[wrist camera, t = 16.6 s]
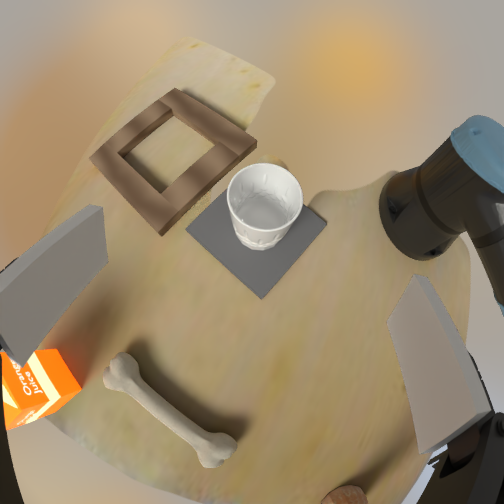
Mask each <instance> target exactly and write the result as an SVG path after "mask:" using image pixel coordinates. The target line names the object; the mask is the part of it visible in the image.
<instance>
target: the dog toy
mask: <svg viewBox="0 0 504 504" xmlns="http://www.w3.org/2000/svg"><path fill="white" fill-rule="evenodd" d="M103 380H104V385H105V387H107V388H109V389H112V390H115V391H123V392H125V393H127V394H128V395H130V396H131V397H132V398H134V399H135V400H136V401H137V402H139V403H140V404H141V405H142V406H143V407H144V408H145V409H146V410H148V411H149V412H150V413H151V414H152V415H153V416H155V417H156V418H157V419H158V420H160V421H161V422H162V423H163V424H164V425H166V426H167V427H168V428H170V429H171V430H172V431H173V432H175V433H176V434H177V435H179V436H180V437H181V438H183V439H184V440H185V441H186V442H188V443H189V444H190V445H191V446H192V447H193V448H194V449H195V450H196V451H197V454H198V458H199V460H200V462H201V464H202V466H203V467H205V468H215V467H218V466H220V465H222V464H223V463H224V460H225V459H227V458H230V457H231V455H232V453H234V452H235V451H236V449H237V443H236V441H235V440H234V439H233V438H232V437H231V436H229V435H227V434H225V433H211V432H207V431H205V430H204V429H202V428H201V427H199V426H198V425H197V424H195V423H194V422H192V421H191V420H190V419H188V418H187V417H186V416H185V415H183V414H182V413H181V412H179V411H178V410H177V409H176V408H174V407H173V406H172V405H171V404H170V403H168V402H167V401H166V400H165V399H164V398H162V397H161V396H160V395H159V394H158V393H157V392H155V391H154V390H153V389H152V388H151V387H150V386H149V385H148V384H146V383H145V382H144V381H143V380H142V378H141V376H140V373H139V365H138V363H137V361H136V360H135V359H134V358H133V357H132V356H130V355H129V354H127V353H124V352H119V353H118V354H117V355H116V356H115V358H114V359H112V360H111V361H110V366H108V367H106V369H105V370H104V372H103Z"/></svg>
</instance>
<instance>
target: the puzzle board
mask: <svg viewBox="0 0 504 504" xmlns="http://www.w3.org/2000/svg"><path fill="white" fill-rule="evenodd" d="M173 115H174V116H175V117H177V118H178V119H180V120H181V121H182V122H184V123H185V124H187V125H188V126H190V127H191V128H192V129H194V130H195V131H197V132H198V133H199V134H201V135H202V136H204V137H205V138H206V139H208V140H209V141H211V142H212V143H213V144H215V146H214V147H213V148H211V149H210V150H209V151H208V152H207V153H206V154H204V155H203V156H202V157H201V158H200V159H199V160H197V161H196V162H195V163H194V164H193V165H192V166H190V167H189V168H188V169H187V170H186V171H185V172H184V173H183V174H182V175H180V176H179V177H178V178H177V179H176V180H175V181H174V182H173V183H172V184H171V185H170V186H169V187H167V188H166V189H165V190H164V191H163V192H162V193H161V194H160V193H159V192H158V191H156V190H155V189H154V188H153V187H152V186H151V185H150V184H149V183H148V182H147V181H146V180H145V179H144V178H143V177H142V176H141V175H140V174H139V173H137V172H136V171H135V170H134V169H133V168H132V167H131V166H130V165H129V164H128V163H127V162H126V161H125V160H124V159H123V157H124V156H125V155H126V154H127V153H129V152H130V151H131V150H132V149H133V148H134V147H135V146H136V145H138V144H139V143H140V142H141V141H142V140H143V139H145V138H146V137H147V136H148V135H149V134H151V133H152V132H153V131H154V130H156V129H157V128H158V127H159V126H161V125H162V124H163V123H164V122H166V121H167V120H168V119H169V118H171V117H172V116H173ZM255 148H257V140H256V139H254V138H253V137H252V136H250V135H249V134H247V133H246V132H245V131H243V130H242V129H240V128H239V127H237V126H236V125H234V124H233V123H231V122H230V121H228V120H227V119H225V118H224V117H222V116H221V115H219V114H217V113H216V112H214V111H213V110H211V109H210V108H208V107H206V106H205V105H203V104H202V103H200V102H198V101H197V100H195V99H193V98H192V97H190V96H188V95H187V94H185V93H183V92H182V91H180V90H178V89H176V88H174V89H173V90H171V91H170V92H168V93H167V94H165V95H164V96H163V97H161V98H160V99H158V100H157V101H156V102H154V103H153V104H152V105H150V106H149V107H148V108H146V109H145V110H144V111H142V112H141V113H140V114H138V115H137V116H136V117H135V118H133V119H132V120H131V121H130V122H129V123H127V124H126V125H125V126H124V127H123V128H121V129H120V130H119V131H118V132H117V133H116V134H114V135H113V136H112V137H111V138H110V139H109V140H108V141H106V142H105V143H104V144H103V145H102V146H101V147H100V148H99V149H98V150H97V151H96V152H95V153H94V154H93V155H92V156H91V157H89V159H90V160H91V161H92V163H93V164H94V165H95V166H96V167H97V168H98V170H99V171H100V172H101V173H102V174H103V175H104V176H105V177H106V178H107V180H108V181H109V182H110V183H111V184H112V185H113V186H114V187H115V188H116V189H117V190H118V191H119V193H120V194H121V195H122V196H123V197H124V198H125V199H126V200H127V201H128V202H129V203H130V204H131V205H132V206H133V207H134V209H135V210H136V211H137V212H138V213H139V214H140V215H141V216H142V217H143V218H144V219H145V220H146V221H147V222H148V223H149V224H150V225H151V226H152V227H153V228H154V229H155V230H156V231H157V232H158V233H159V234H160V235H161V236H163V235H164V234H165V233H166V232H167V231H168V230H169V229H170V228H171V227H172V226H173V225H174V224H175V223H176V222H177V221H178V220H179V219H180V218H181V217H182V216H183V215H184V214H185V213H186V212H187V211H188V210H189V209H190V208H191V207H192V206H193V205H194V204H195V203H196V202H197V201H198V200H199V199H200V198H201V197H202V196H203V195H204V194H205V193H207V192H208V191H209V190H210V189H211V188H212V187H213V186H214V185H215V184H216V183H217V182H218V181H219V180H221V178H223V177H224V176H225V175H226V174H227V173H228V172H229V171H230V170H232V169H233V168H234V167H235V166H236V165H237V164H238V163H239V162H241V161H242V160H243V159H244V158H245V157H246V156H247V155H249V154H250V153H251V152H252V151H253V150H254V149H255Z"/></svg>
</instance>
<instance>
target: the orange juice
mask: <svg viewBox="0 0 504 504" xmlns="http://www.w3.org/2000/svg"><path fill="white" fill-rule="evenodd" d="M0 354H1V356H2V388H3V405H4V415H5V424H6V430H9V429H12V428H15V427H18V426H20V425H23V424H27V423H29V422H32V421H34V420H36V419H38V418H41V417H44V416H46V415H49V414H51V413H54V412H56V411H57V410H58V409H59V408H61V407H62V406H63V405H64V404H65V403H66V402H68V401H69V400H70V399H71V398H72V397H73V396H75V395H76V394H77V393H78V392H79V391H80V390H82V389H81V387H80V386H79V384H78V383H77V381H76V380H75V378H74V377H73V375H72V374H71V372H70V371H69V369H68V367H67V366H66V364H65V363H64V361H63V359H62V358H61V356H60V354H59V352H58V351H57V349H50V350H37V351H34V353H33V354H32V355H31V357H30V358H29V360H28V361H27V363H26V364H25V366H24V367H23V368H21V367H20V366H19V365H17V364H16V363H14V362H13V361H12V360H10V359H9V357H8V356H7V354H6V353H5V352H0Z"/></svg>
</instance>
